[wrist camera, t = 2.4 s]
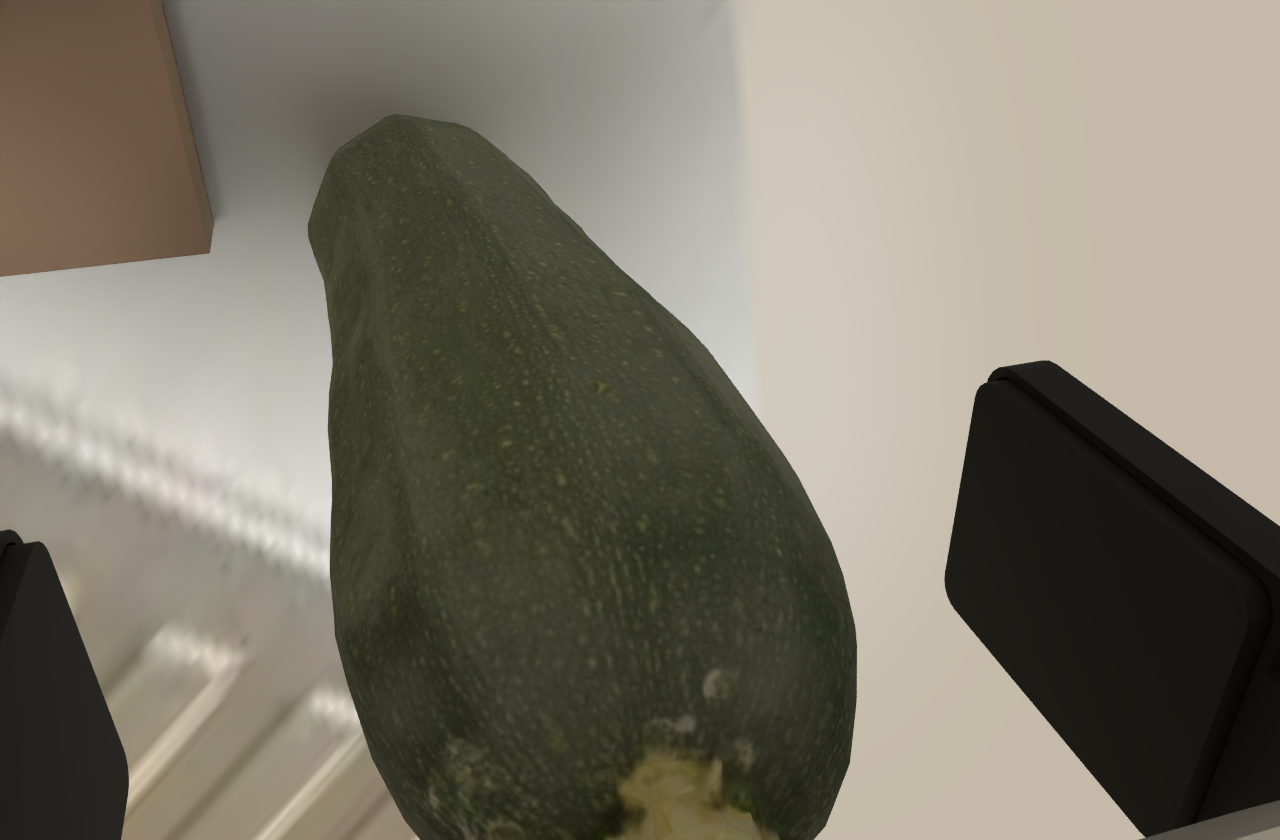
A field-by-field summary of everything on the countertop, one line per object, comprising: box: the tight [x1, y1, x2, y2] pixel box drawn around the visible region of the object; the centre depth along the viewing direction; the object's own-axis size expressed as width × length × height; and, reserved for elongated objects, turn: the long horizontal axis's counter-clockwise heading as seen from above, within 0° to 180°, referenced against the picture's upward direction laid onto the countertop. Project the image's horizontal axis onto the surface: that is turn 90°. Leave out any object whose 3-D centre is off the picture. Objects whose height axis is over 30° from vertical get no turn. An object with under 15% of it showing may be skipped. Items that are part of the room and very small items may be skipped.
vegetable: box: [308, 114, 857, 840], centre depth 12 cm, size 4×4×20 cm
